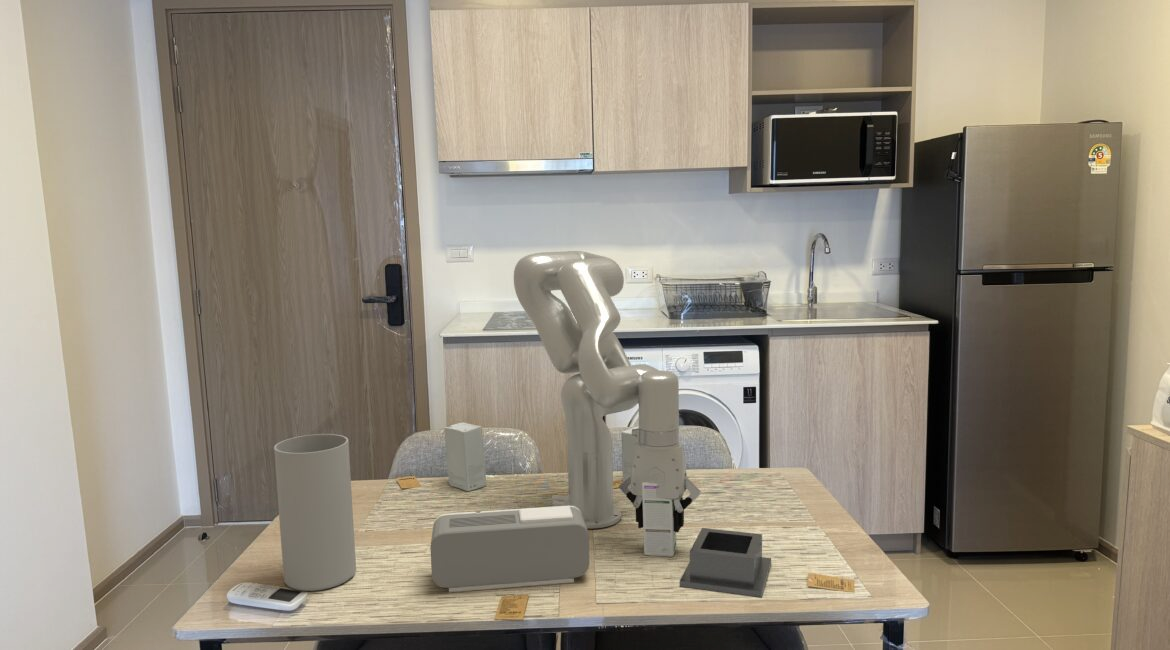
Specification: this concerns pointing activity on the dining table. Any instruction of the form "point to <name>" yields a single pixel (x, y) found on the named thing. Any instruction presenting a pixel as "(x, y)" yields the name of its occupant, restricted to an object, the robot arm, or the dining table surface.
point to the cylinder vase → (315, 511)
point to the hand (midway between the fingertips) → (659, 527)
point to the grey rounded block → (509, 548)
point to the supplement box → (627, 451)
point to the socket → (727, 563)
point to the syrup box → (657, 522)
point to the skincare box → (465, 456)
